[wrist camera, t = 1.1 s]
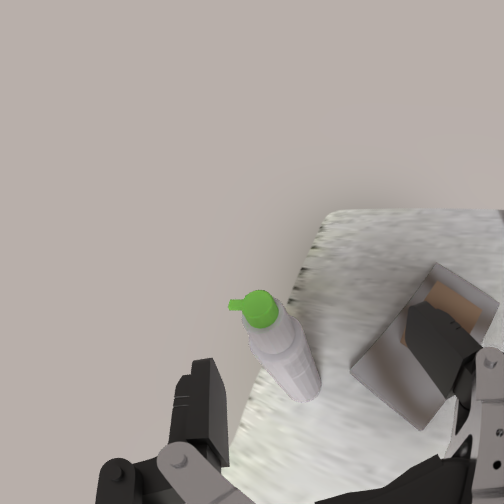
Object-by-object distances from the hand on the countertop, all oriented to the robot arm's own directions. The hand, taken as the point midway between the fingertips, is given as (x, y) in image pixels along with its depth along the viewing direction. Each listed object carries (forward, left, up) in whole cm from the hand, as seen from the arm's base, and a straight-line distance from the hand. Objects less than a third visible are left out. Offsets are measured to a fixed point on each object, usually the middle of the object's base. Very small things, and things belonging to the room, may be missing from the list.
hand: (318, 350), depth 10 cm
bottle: (0, -6, -24) cm, 25 cm away
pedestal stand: (-15, +3, -24) cm, 29 cm away
